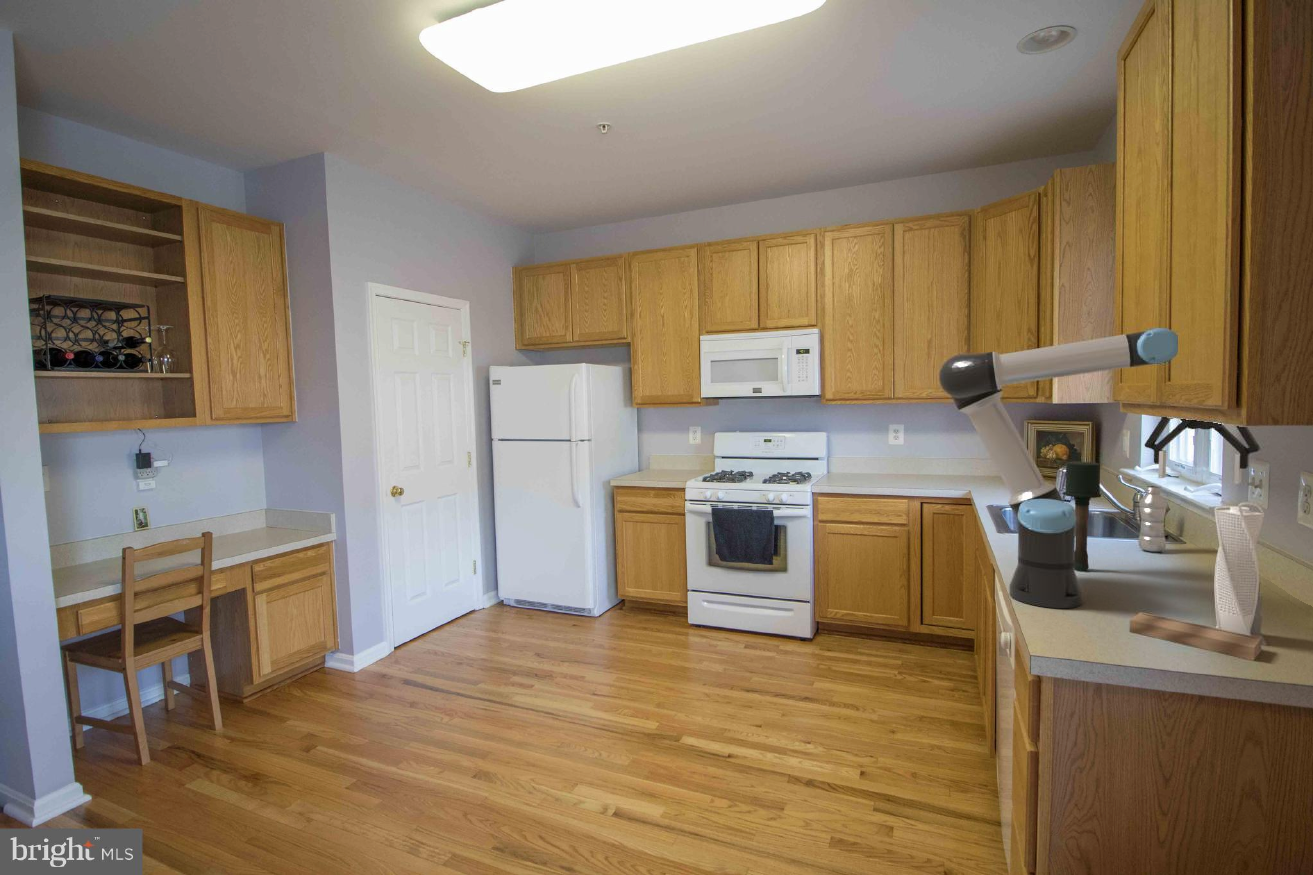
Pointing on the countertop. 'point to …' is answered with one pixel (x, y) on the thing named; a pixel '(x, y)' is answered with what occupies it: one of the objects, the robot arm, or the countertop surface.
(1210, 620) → the countertop surface
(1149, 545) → the ribbed metallic bottle
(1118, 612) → the countertop surface
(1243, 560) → the skyscraper
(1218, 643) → the board
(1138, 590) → the countertop surface
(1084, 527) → the stick grenade
